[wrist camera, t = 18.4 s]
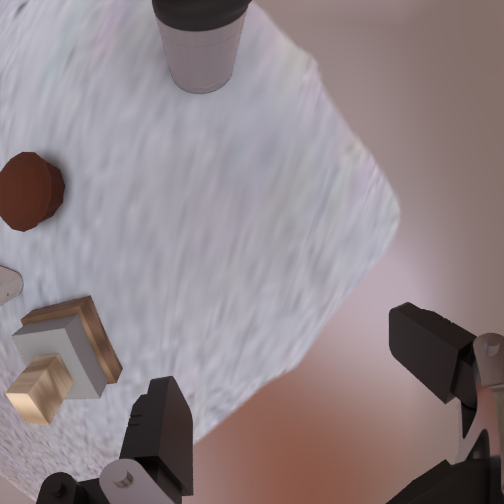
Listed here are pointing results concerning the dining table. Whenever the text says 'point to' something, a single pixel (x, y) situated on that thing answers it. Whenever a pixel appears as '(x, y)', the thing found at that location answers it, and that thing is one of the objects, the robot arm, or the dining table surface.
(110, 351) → the walnut base block
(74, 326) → the slate top block
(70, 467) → the dining table surface
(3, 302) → the photo printer
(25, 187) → the muffin
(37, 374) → the birch pillar block
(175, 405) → the robot arm
